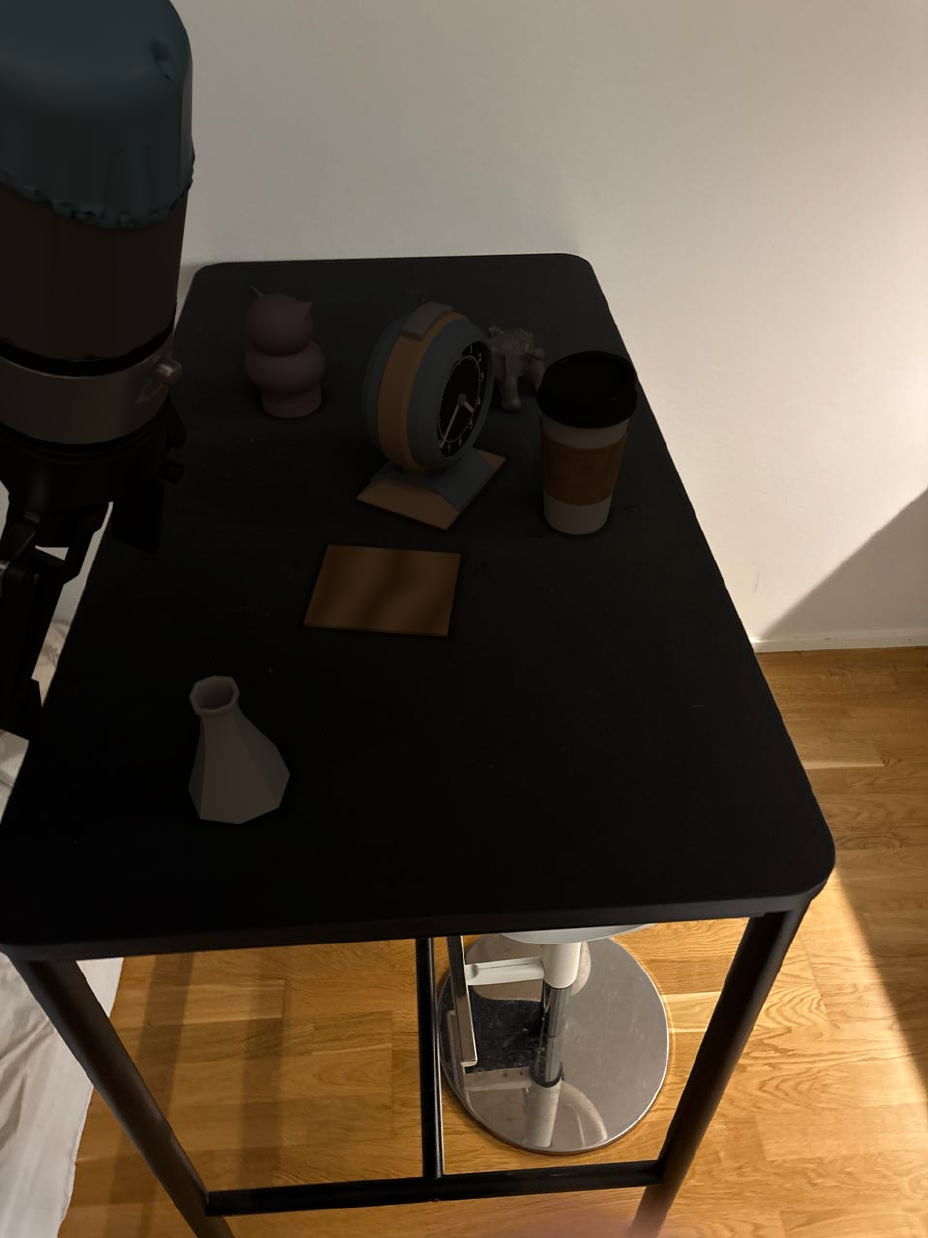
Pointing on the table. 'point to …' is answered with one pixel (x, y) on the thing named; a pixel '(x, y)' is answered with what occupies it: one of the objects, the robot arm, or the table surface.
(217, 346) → the table surface
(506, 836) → the table surface
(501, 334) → the gray elephant figurine
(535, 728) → the table surface
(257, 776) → the flask
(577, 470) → the coffee cup
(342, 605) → the wooden board
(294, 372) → the cat figurine
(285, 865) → the table surface
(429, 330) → the alarm clock
